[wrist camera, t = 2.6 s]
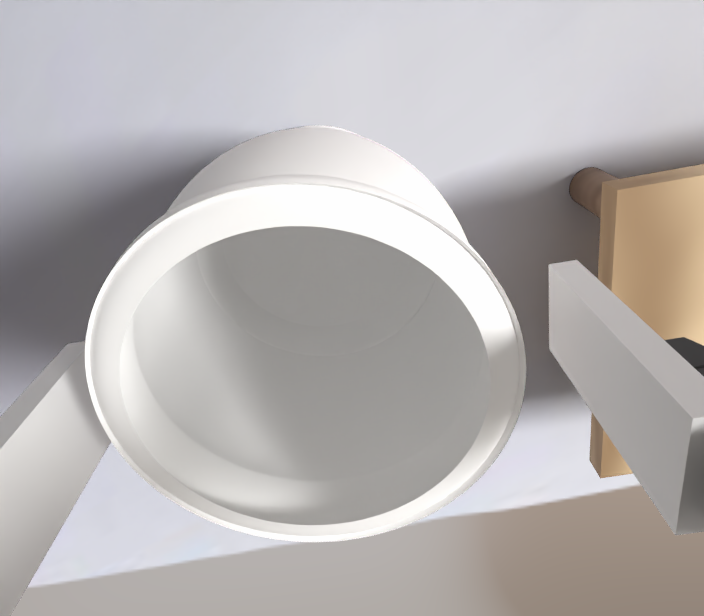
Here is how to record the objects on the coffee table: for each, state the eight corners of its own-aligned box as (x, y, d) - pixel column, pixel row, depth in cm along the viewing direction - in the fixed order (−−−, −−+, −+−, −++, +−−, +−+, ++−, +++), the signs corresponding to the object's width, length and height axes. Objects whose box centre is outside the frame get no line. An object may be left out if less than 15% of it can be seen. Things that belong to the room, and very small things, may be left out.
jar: (470, 171, 25) (623, 322, 12) (364, 337, 29) (388, 589, 16) (267, 52, 23) (170, 74, 9) (181, 252, 27) (27, 467, 13)
